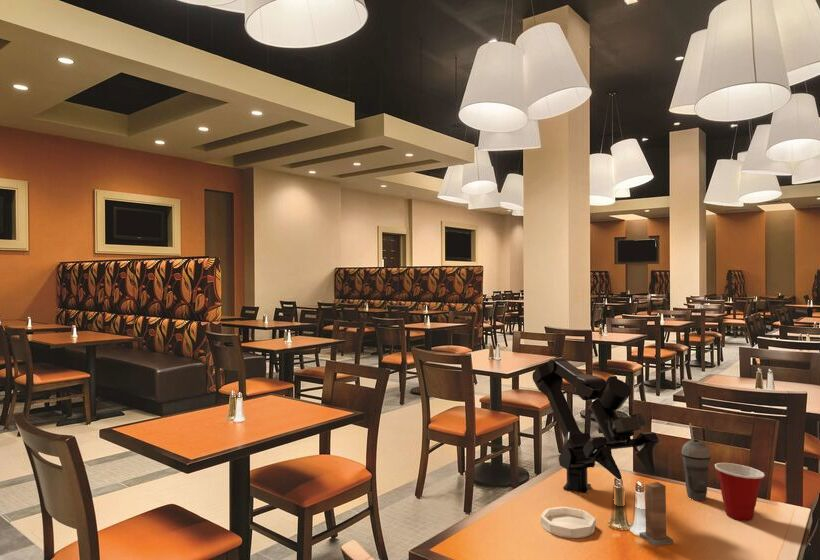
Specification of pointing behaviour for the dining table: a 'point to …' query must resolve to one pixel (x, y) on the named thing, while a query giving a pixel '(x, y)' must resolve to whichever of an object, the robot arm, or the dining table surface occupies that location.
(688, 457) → the beverage cup
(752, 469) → the plastic cup
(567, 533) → the saucer
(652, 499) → the brown tall rectangular block
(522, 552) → the dining table surface
